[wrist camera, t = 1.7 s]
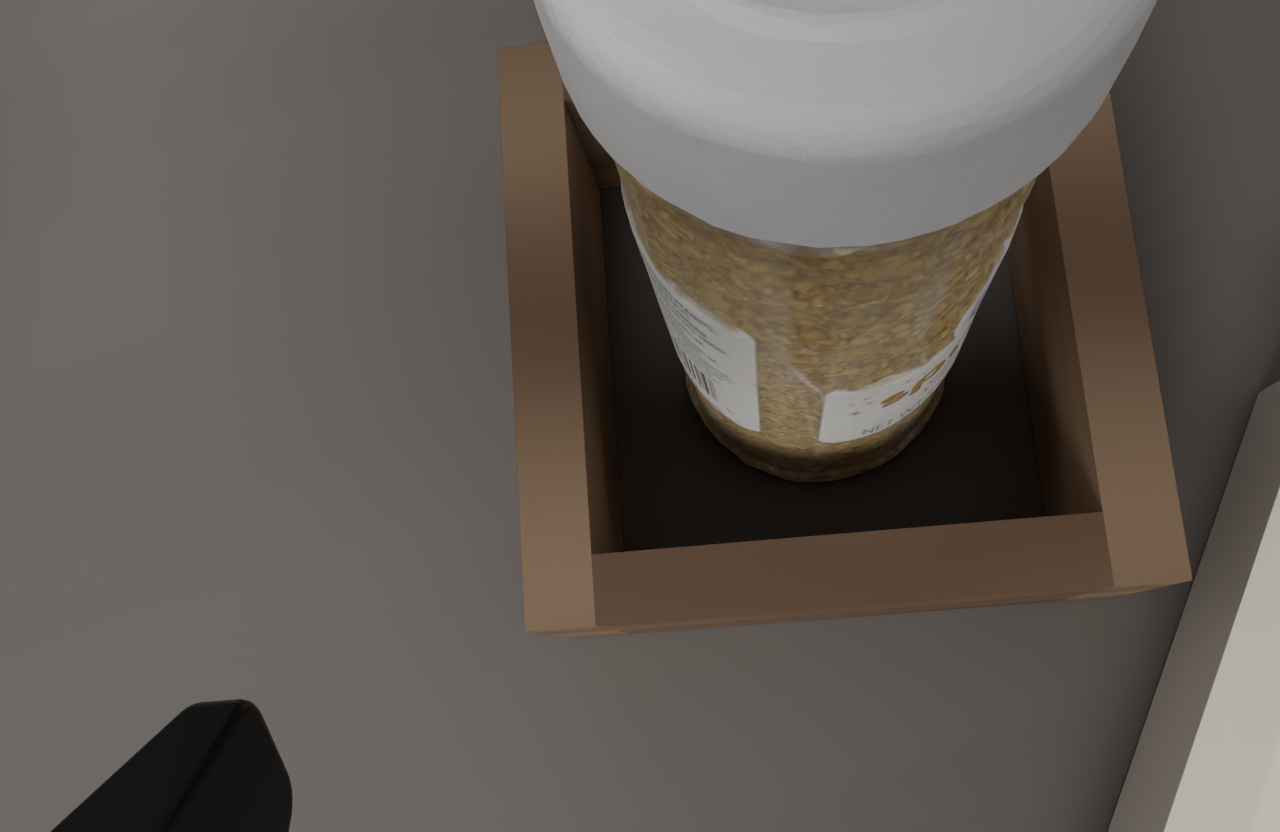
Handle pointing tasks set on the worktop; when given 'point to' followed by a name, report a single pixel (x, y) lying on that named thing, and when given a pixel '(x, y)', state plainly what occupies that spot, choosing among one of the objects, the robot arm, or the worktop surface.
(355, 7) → the worktop surface
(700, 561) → the walnut holder
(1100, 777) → the worktop surface
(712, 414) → the sprinkles bottle
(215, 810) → the robot arm
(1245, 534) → the cream tray
